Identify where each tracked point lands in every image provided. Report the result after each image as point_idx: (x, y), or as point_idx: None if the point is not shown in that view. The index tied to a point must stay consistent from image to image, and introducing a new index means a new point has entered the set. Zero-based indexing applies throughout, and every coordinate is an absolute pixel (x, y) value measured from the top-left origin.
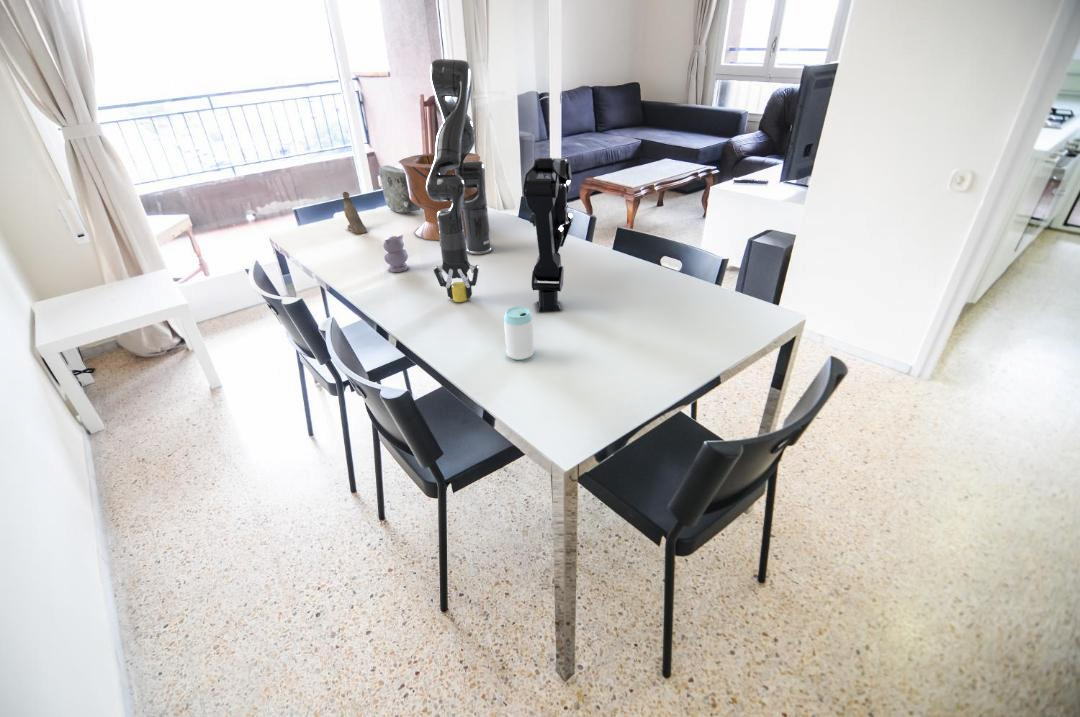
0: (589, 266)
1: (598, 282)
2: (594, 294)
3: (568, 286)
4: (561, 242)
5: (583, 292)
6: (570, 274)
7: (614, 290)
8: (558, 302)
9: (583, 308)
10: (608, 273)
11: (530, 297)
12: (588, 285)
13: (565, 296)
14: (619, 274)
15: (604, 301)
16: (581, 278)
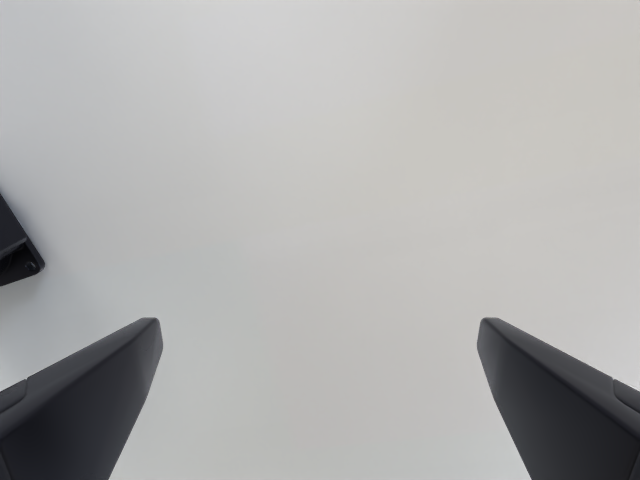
0: (592, 338)
1: (356, 407)
2: (205, 410)
3: (273, 279)
4: (497, 372)
5: (214, 363)
6: (460, 257)
7: (273, 475)
8: (16, 280)
9: None
10: (482, 434)
11: (41, 88)
12: (309, 371)
13: (135, 289)
14: (470, 475)
15: (142, 454)
16: (401, 325)
